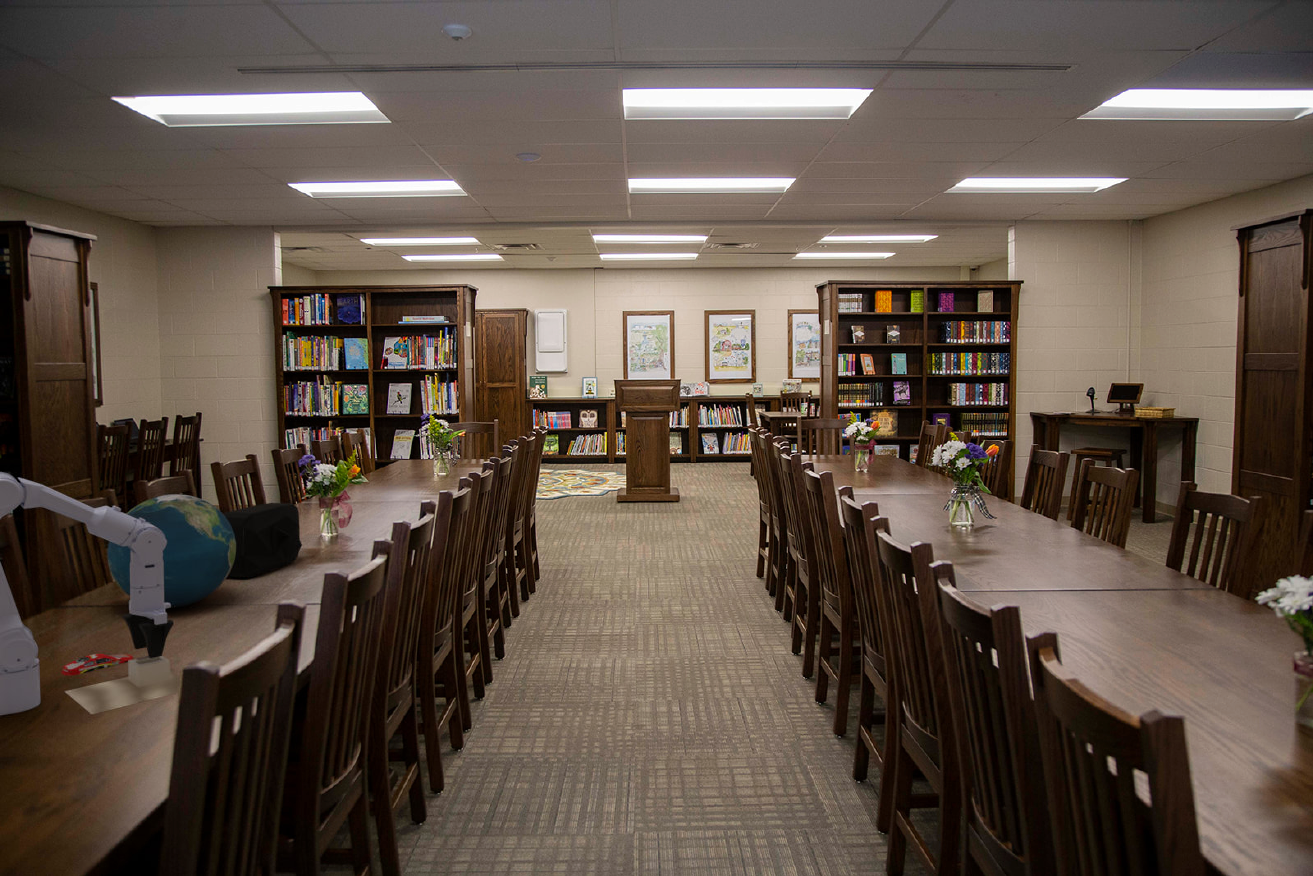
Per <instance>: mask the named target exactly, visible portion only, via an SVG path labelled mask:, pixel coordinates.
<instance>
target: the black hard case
mask: <svg viewBox="0 0 1313 876" xmlns="http://www.w3.org/2000/svg"><path fill="white" fill-rule="evenodd" d="M222 514H223V515H224V516H225V517H226V518H227V520H228V521H229V523H230V525H231V527H232V529H233V532H234V535H235V540H236V554H235V560H234V563H233V566H232V569H231V571H230V573H229V574H228V576H227V577H226V578H241V579H242V578H243V579H250V578H252V577H255V576H258V575H263V574H266V573H268V572H272V571H275V570H277V569H280V568H282V566H283V567H285V566H287V565H289V564H292V562H293V563H294V561H296V559H297V558H298V556H299V553H300V550H301V549H302V546H303V544H302V541H301V537H300V536H301V535H300V533H301V532H300V513H299V508H298V507H297V505H295V504H294V503H284V502H269V503H262V504H257V505H253V506H248V507H247V506H246V507H244V508H243V507H242V508H239V509H235V510H231V511H227V512H225V513H222ZM284 565H285V566H284ZM276 568H277V569H276ZM274 569H275V570H274ZM271 570H272V571H271ZM265 572H266V573H265ZM262 573H263V574H262Z"/></svg>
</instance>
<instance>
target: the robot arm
mask: <svg viewBox="0 0 1313 876" xmlns="http://www.w3.org/2000/svg"><path fill="white" fill-rule="evenodd" d="M17 479H18V480H19V481H20V482H18V481H17ZM17 479H16V478H15V477H14V476H13V475H12V474H9V473H7V472H2V471H0V520H1V519H2V518H3V517H4V516H6V515H7V514H10V512H13V510H16V509H17V507H18V506H19V505H20V506H21V508H23V509H24V510H26V509H33V508H34V509H35V508H45V509H47V510H48V511H49V510H50V511H52V512H55V513H58V514H60V515H62V516H65V517H67V518H70V519H73V520H76V521H77V522H81V523H84V524H85V525H86V528H87V532H88V534H91V535H94V536H96V537H97V538H98V537H99V538H101V539H104V540H106V541H108V542H109V541H111V542H113V543H116V544H118V545H120V546H128V547H129V548H130V549H132V550H131V562H130V596H129V597H130V598H129V599H130V600H128V610H129V612H128V613H126V614H123V615H122V619H123V621H124V622H125V624H126V625H127V628H128V630H129V632H130V636H131V640H132V643H133V647H134V649H135V650H140V649H146V653H147V655H148V656H149V658H155V657H160V656H163V653H164V650H165V645H166V641H167V638H168V636H169V634H170V631H171V629H172V628H173V626H174V620H171V619H168V613H167V612H166V609H170V607H171V604H170V603H164V562H163V550H164V548H165V547H166V544H167V540H166V539H165V535H164V534H163V532H162V531H161V530H160V529H158V528H157V527H155V526H154V525H151V524H150V523H149V522H145V520H144V519H142V518H139V519H136V518H134V517H132V516H129V515H127V513H124V512H122V508H120V507H118V506H116V505H112V507H110V506H108V505H103V506H99V507H95V508H94V507H93V506H90V505H88V504H85V503H83V502H81V501H79V500H77V499H75V498H72V497H70V496H67V495H66V494H63V493H62V492H59V491H57V490H54V489H53V488H50V487H48V486H45V485H44V484H42V483H38V482H35V481H32V480H28V479H26V478H22V477H17ZM133 550H134V551H133ZM16 605H17V604H16V602H15V600H14V596H13V594H12V590H11V588H10V586H9V583H8V580H7V577H6V574H5V571H4V568H3V566H2V563H1V561H0V716H4V715H9V714H10V715H11V714H17V713H22V712H25V711H26V712H27V711H28V710H31V709H35V708H36V707H38V706H39V705H40V704H41V678H40V677H41V676H40V659H39V658H38V653H39V647H38V643H36V641H35V640H34V635H33V633H32V631H31V629H30V628H28V627H27V626H25V624H24V623H23V621H22V620H21V619H22V618H21V616H20V613H19V610H18V608H17V606H16Z"/></svg>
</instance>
